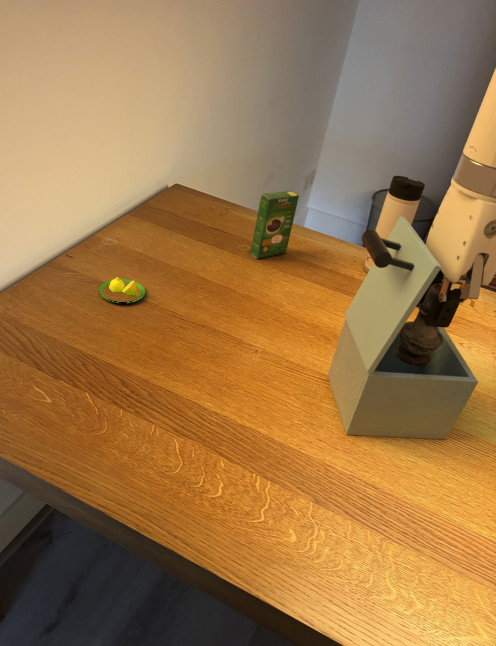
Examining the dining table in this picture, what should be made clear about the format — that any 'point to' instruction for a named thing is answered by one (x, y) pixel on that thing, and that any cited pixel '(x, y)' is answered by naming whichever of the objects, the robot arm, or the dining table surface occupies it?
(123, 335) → the dining table surface
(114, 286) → the plate with lemons
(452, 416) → the grey hinged box
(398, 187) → the travel mug
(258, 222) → the coffee box
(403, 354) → the chess piece figurine
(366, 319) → the lid
